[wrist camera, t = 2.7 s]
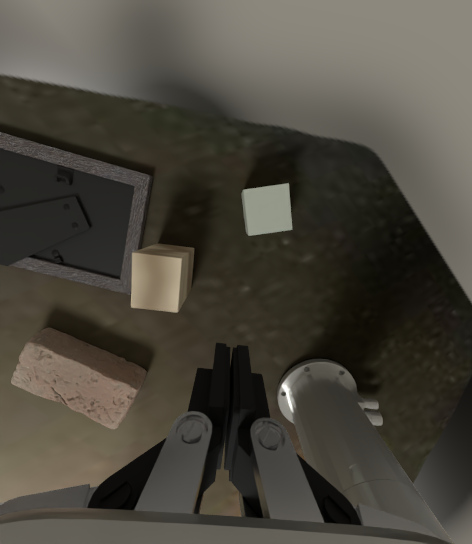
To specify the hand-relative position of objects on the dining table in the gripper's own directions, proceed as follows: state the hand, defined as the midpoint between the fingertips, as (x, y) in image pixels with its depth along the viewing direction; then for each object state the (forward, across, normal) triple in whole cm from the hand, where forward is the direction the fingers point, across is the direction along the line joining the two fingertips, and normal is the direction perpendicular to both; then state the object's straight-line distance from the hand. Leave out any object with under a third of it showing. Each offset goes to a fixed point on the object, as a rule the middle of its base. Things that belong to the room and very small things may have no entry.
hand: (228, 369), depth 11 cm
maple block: (+21, +8, 0) cm, 22 cm away
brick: (+21, +20, +18) cm, 34 cm away
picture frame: (+21, +23, -5) cm, 32 cm away
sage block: (+21, -3, -9) cm, 23 cm away
